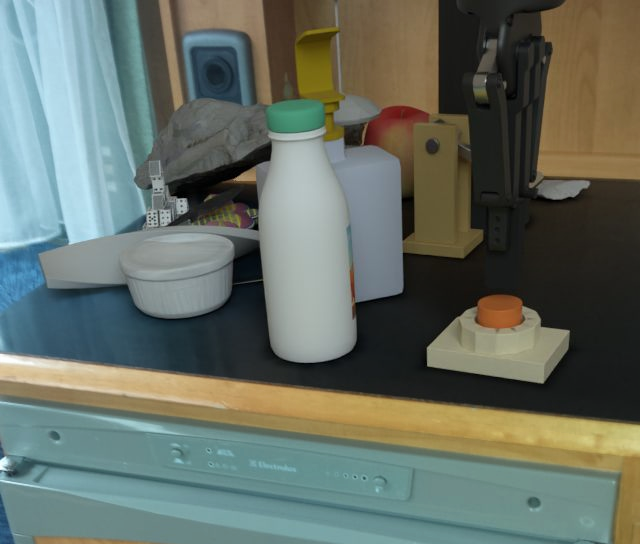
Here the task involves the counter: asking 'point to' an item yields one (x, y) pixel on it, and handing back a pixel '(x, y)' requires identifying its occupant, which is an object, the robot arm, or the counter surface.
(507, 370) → the button block
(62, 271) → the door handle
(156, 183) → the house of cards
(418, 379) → the counter surface
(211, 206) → the machete
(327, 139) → the soap bottle
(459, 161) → the bracket
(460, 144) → the lever
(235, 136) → the stone
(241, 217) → the decorative ornament
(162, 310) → the ramekin
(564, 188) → the stone
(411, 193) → the apple
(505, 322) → the button
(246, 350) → the counter surface
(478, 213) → the vase
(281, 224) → the milk bottle
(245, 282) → the knife
